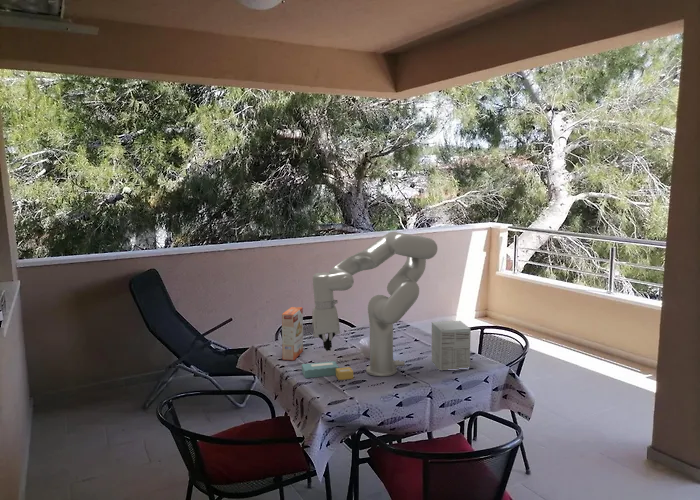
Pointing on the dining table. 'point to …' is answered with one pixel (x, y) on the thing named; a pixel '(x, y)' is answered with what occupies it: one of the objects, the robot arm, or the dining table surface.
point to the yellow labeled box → (344, 373)
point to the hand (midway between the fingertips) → (327, 349)
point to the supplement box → (450, 345)
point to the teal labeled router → (319, 369)
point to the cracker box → (292, 333)
